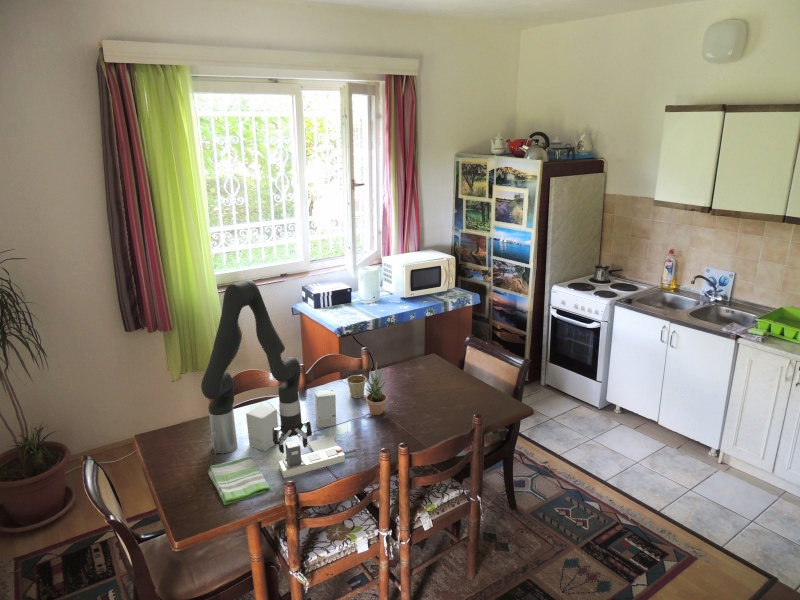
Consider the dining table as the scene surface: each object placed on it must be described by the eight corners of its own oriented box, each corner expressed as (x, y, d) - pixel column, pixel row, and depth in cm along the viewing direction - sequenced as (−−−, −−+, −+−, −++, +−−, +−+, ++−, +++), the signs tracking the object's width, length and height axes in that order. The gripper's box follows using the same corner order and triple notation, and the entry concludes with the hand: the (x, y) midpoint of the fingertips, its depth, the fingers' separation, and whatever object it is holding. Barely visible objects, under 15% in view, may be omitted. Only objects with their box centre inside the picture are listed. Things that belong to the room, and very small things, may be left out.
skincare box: (318, 428, 243) (316, 397, 239) (315, 421, 249) (313, 391, 244) (337, 425, 246) (335, 394, 241) (334, 418, 251) (333, 388, 247)
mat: (315, 455, 223) (315, 454, 223) (308, 443, 232) (308, 442, 232) (339, 449, 227) (339, 447, 227) (331, 437, 236) (331, 436, 236)
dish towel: (252, 460, 222) (251, 452, 221) (272, 490, 203) (271, 482, 202) (207, 474, 213) (206, 466, 212) (224, 507, 194) (222, 498, 193)
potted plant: (390, 414, 254) (389, 364, 247) (370, 418, 251) (368, 367, 244) (382, 404, 263) (381, 355, 256) (363, 408, 260) (361, 359, 252)
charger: (289, 467, 210) (288, 448, 208) (286, 461, 214) (285, 442, 212) (301, 464, 212) (300, 445, 210) (298, 458, 216) (296, 439, 214)
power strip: (284, 477, 209) (283, 469, 208) (279, 468, 215) (278, 459, 214) (359, 457, 222) (358, 448, 220) (352, 448, 228) (352, 440, 227)
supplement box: (280, 441, 234) (277, 409, 229) (265, 452, 226) (262, 418, 222) (264, 435, 238) (261, 403, 234) (248, 445, 231) (245, 413, 226)
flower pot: (344, 393, 275) (343, 377, 272) (362, 389, 278) (362, 373, 276) (351, 401, 267) (350, 384, 264) (369, 397, 270) (369, 381, 268)
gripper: (273, 419, 201) (277, 459, 206) (311, 410, 207) (315, 449, 211) (268, 410, 207) (272, 449, 212) (305, 402, 213) (309, 440, 218)
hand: (293, 449), depth 212 cm, fingers open, 8 cm apart
